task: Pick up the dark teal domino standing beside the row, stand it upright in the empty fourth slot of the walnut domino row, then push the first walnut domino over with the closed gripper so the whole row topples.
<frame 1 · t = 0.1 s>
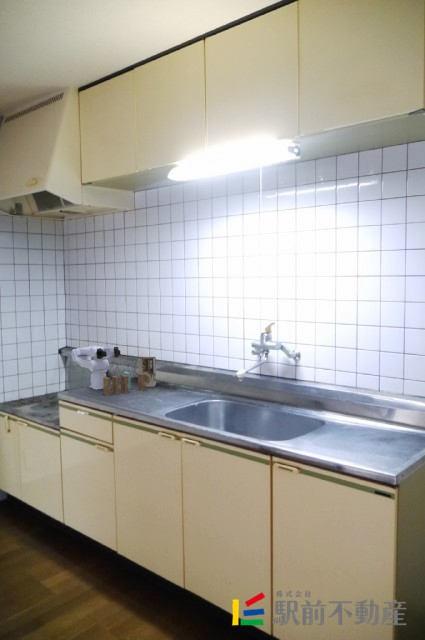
hand: (113, 353, 266), 22 cm above the countertop, tool horizontal, fingers open, 7 cm apart
domino 2: (116, 393, 270), on the countertop
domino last: (141, 390, 278), on the countertop
domino 3: (124, 392, 272), on the countertop
domino 1: (107, 394, 267), on the countertop
coffee box: (147, 385, 290), on the countertop
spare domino: (127, 388, 282), on the countertop
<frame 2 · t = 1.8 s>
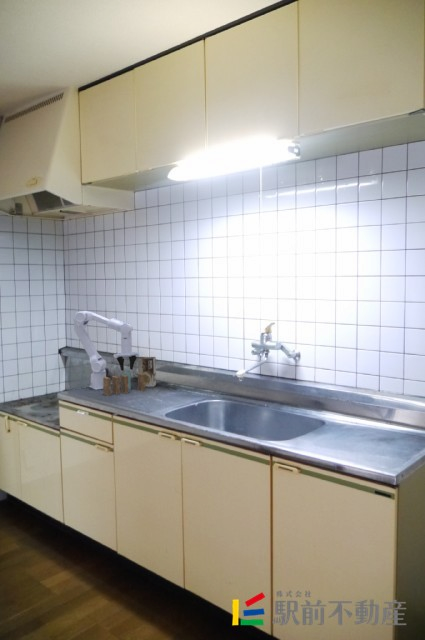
hand: (126, 369, 281), 10 cm above the countertop, tool pointing down, fingers open, 5 cm apart
nothing on the countertop moved.
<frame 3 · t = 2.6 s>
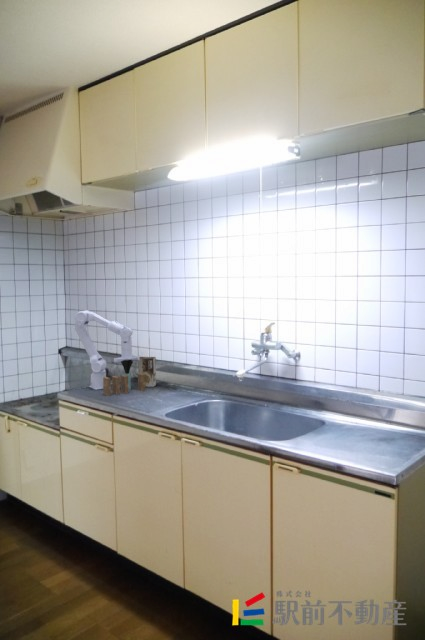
hand: (127, 373, 281), 8 cm above the countertop, tool pointing down, fingers closed, pressing on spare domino
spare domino: (127, 389, 282), on the countertop, touching gripper
everything else where it was.
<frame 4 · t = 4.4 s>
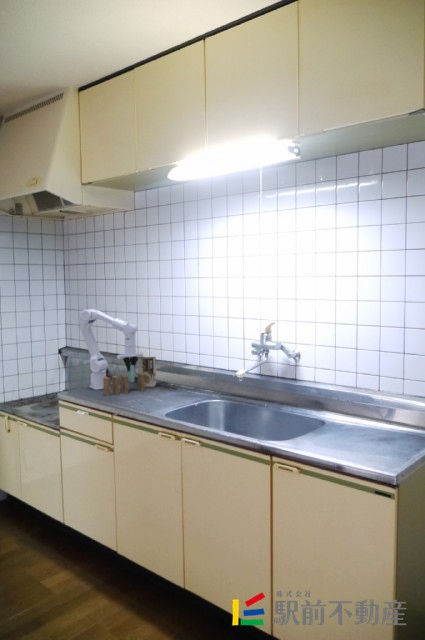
hand: (130, 371, 277), 10 cm above the countertop, tool pointing down, fingers closed on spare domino
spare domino: (130, 381, 278), point 5 cm above the countertop, touching gripper
everything else where it was.
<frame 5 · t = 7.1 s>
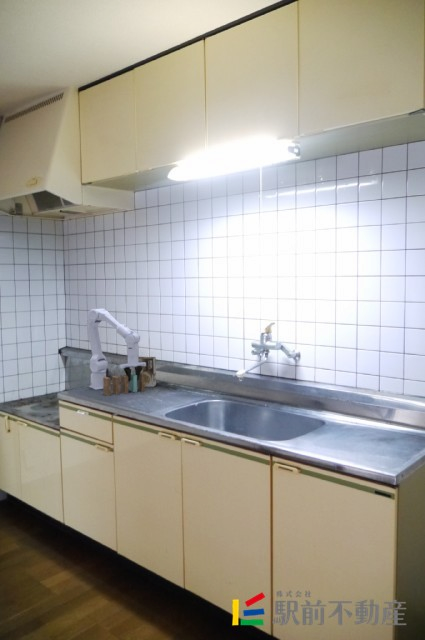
hand: (133, 380, 275), 6 cm above the countertop, tool pointing down, fingers open, 4 cm apart
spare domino: (133, 391, 275), on the countertop
everything else where it was.
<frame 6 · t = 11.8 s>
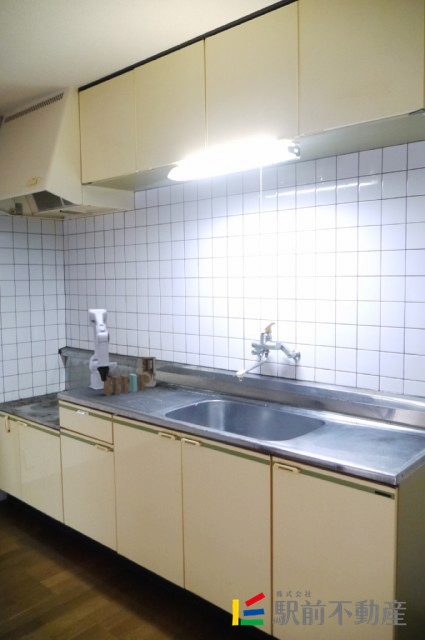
hand: (103, 381, 265), 7 cm above the countertop, tool pointing down, fingers closed
domino 1: (107, 394, 267), on the countertop, touching gripper
everything else where it was.
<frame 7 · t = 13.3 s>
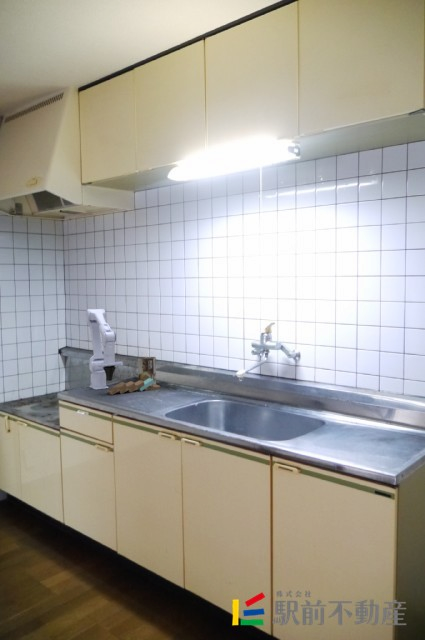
hand: (109, 380, 267), 7 cm above the countertop, tool pointing down, fingers closed
domino 2: (118, 391, 270), point 1 cm above the countertop, tilted 67°, touching domino 1, domino 3
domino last: (143, 389, 279), on the countertop, tilted 90°
domino 3: (127, 390, 273), point 1 cm above the countertop, tilted 68°, touching domino 2
domino 1: (109, 392, 267), point 1 cm above the countertop, tilted 67°, touching domino 2
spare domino: (138, 388, 276), point 1 cm above the countertop, tilted 64°
everything else where it was.
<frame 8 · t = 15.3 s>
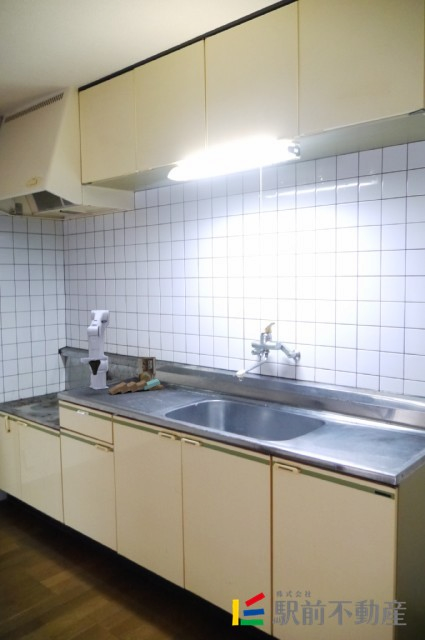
hand: (94, 374, 266), 10 cm above the countertop, tool pointing down, fingers closed
domino 2: (120, 391, 271), point 1 cm above the countertop, tilted 69°, touching domino 3
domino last: (146, 388, 279), on the countertop, tilted 90°, touching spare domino
domino 3: (130, 389, 274), point 1 cm above the countertop, tilted 69°, touching domino 2, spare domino
domino 1: (110, 392, 268), point 1 cm above the countertop, tilted 68°
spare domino: (143, 387, 277), point 2 cm above the countertop, tilted 73°, touching domino 3, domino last
everything else where it was.
at the end: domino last tilted 90°; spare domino tilted 78°; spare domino inside the target area (2.3 cm from its centre), point 1.8 cm above the countertop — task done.
